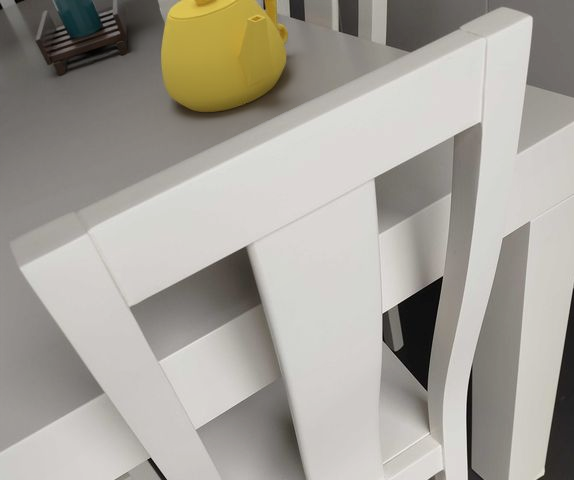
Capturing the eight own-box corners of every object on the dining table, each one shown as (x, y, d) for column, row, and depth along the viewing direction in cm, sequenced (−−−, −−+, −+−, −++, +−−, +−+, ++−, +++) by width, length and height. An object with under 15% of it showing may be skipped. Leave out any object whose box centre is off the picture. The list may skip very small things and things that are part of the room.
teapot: (152, 100, 83) (113, 2, 74) (258, 44, 88) (234, -54, 79) (227, 137, 70) (190, 24, 61) (345, 69, 75) (328, -44, 66)
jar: (172, 42, 98) (143, -40, 89) (218, 27, 98) (194, -57, 89) (176, 60, 92) (146, -26, 83) (226, 44, 92) (201, -45, 83)
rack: (53, 77, 100) (35, 40, 95) (59, 45, 111) (43, 11, 107) (132, 51, 99) (117, 13, 95) (130, 22, 111) (116, -13, 107)
